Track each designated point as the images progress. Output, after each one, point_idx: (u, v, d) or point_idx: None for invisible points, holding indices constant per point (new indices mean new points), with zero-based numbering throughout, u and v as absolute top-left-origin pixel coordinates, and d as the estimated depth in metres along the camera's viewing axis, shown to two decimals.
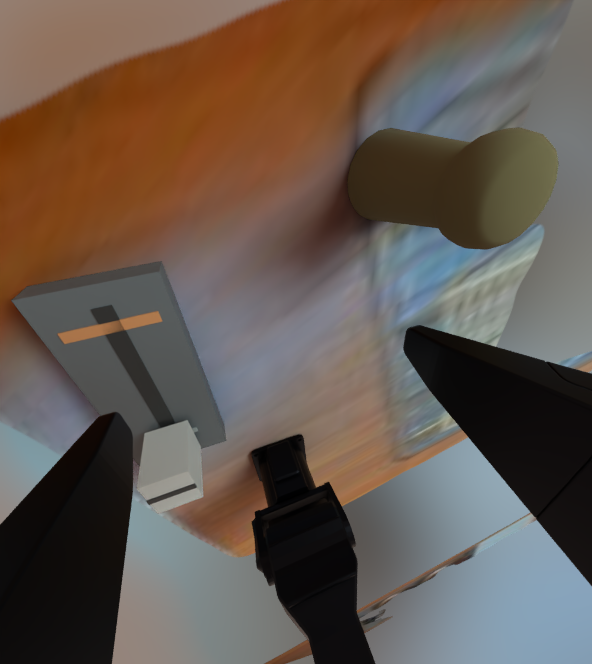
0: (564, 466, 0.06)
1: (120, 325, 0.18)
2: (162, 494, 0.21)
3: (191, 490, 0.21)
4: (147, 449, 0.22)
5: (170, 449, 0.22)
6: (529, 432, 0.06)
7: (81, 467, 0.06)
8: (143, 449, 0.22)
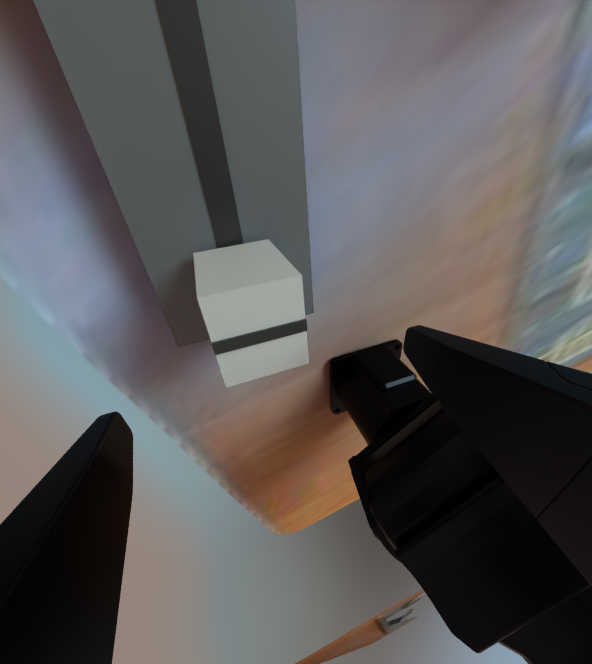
0: (564, 466, 0.06)
1: None
2: (243, 333, 0.10)
3: (295, 337, 0.11)
4: (204, 263, 0.11)
5: (251, 261, 0.11)
6: (529, 432, 0.06)
7: (81, 467, 0.06)
8: (196, 264, 0.11)
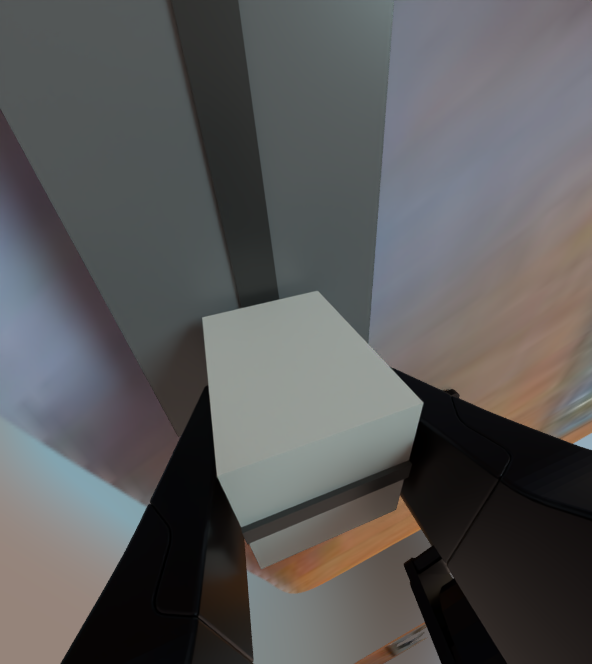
0: (460, 515, 0.05)
1: None
2: (301, 502, 0.05)
3: (386, 487, 0.06)
4: (223, 348, 0.07)
5: (305, 346, 0.06)
6: (430, 474, 0.06)
7: None
8: (209, 349, 0.07)
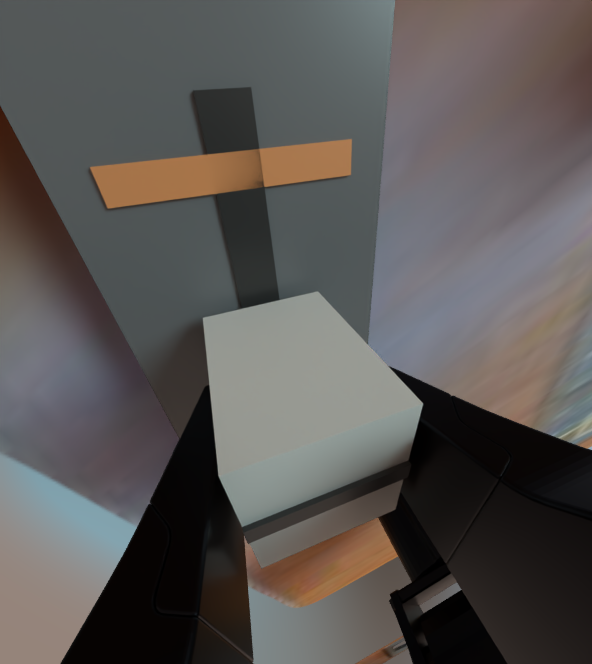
0: (460, 515, 0.05)
1: (257, 169, 0.07)
2: (302, 501, 0.05)
3: (385, 487, 0.06)
4: (223, 349, 0.07)
5: (306, 347, 0.06)
6: (430, 474, 0.06)
7: None
8: (209, 349, 0.07)
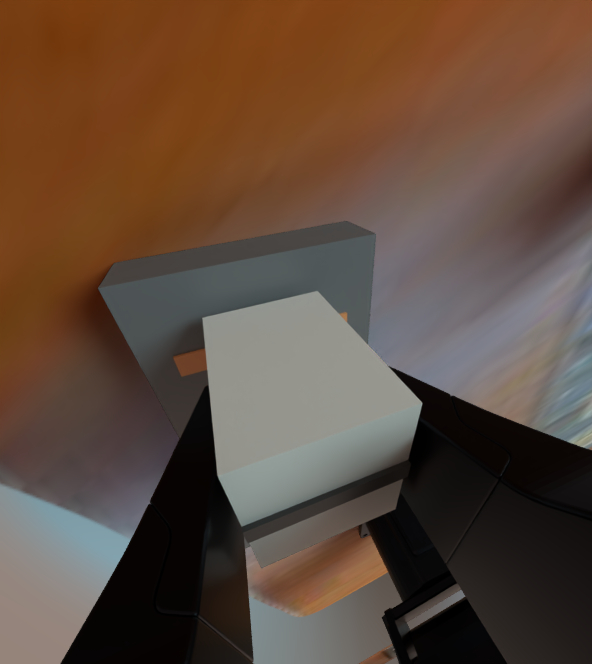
0: (460, 515, 0.05)
1: None
2: (301, 501, 0.05)
3: (385, 487, 0.06)
4: (223, 349, 0.07)
5: (305, 346, 0.06)
6: (430, 474, 0.06)
7: None
8: (209, 349, 0.07)
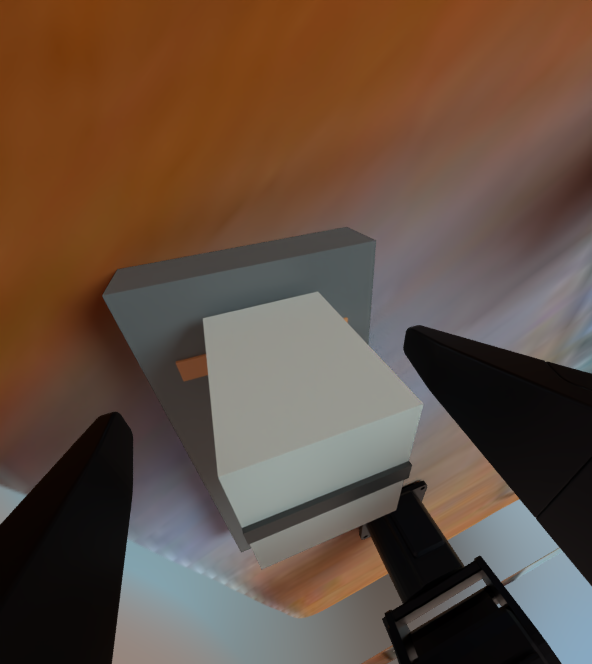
0: (564, 466, 0.06)
1: None
2: (301, 502, 0.05)
3: (386, 488, 0.06)
4: (223, 349, 0.07)
5: (306, 347, 0.06)
6: (530, 432, 0.06)
7: (81, 467, 0.06)
8: (209, 350, 0.07)
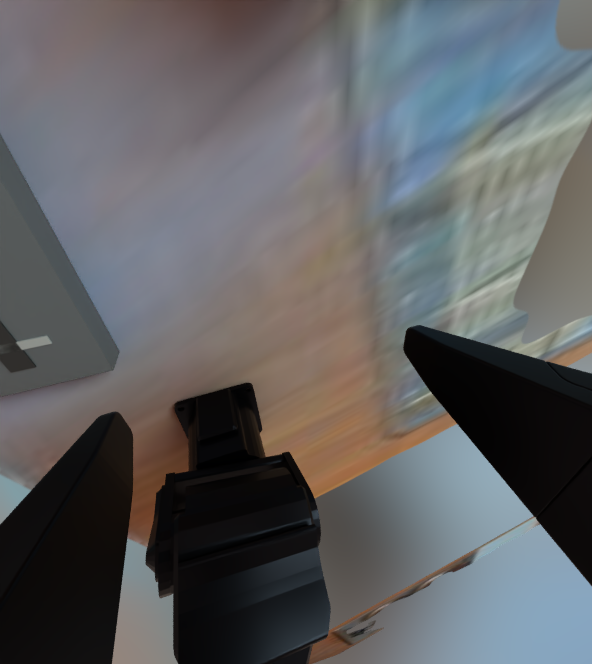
0: (564, 466, 0.06)
1: None
2: None
3: None
4: None
5: None
6: (529, 431, 0.06)
7: (81, 467, 0.06)
8: None
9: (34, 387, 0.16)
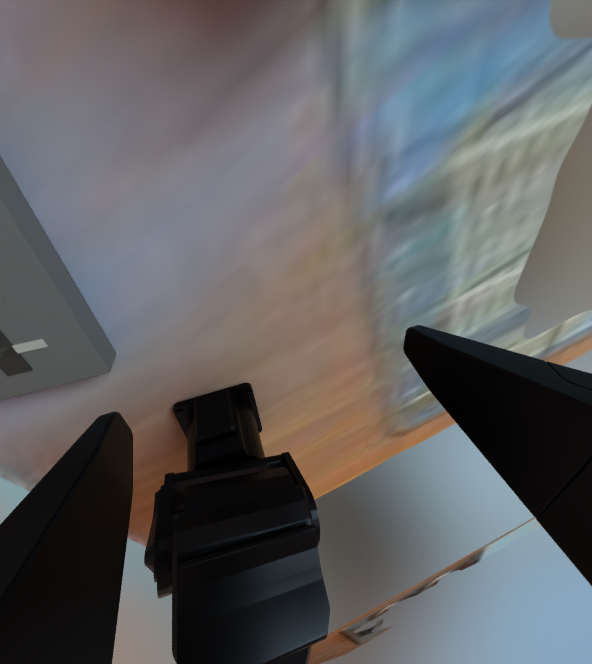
0: (564, 466, 0.06)
1: None
2: None
3: None
4: None
5: None
6: (529, 432, 0.06)
7: (81, 467, 0.06)
8: None
9: (31, 390, 0.16)
